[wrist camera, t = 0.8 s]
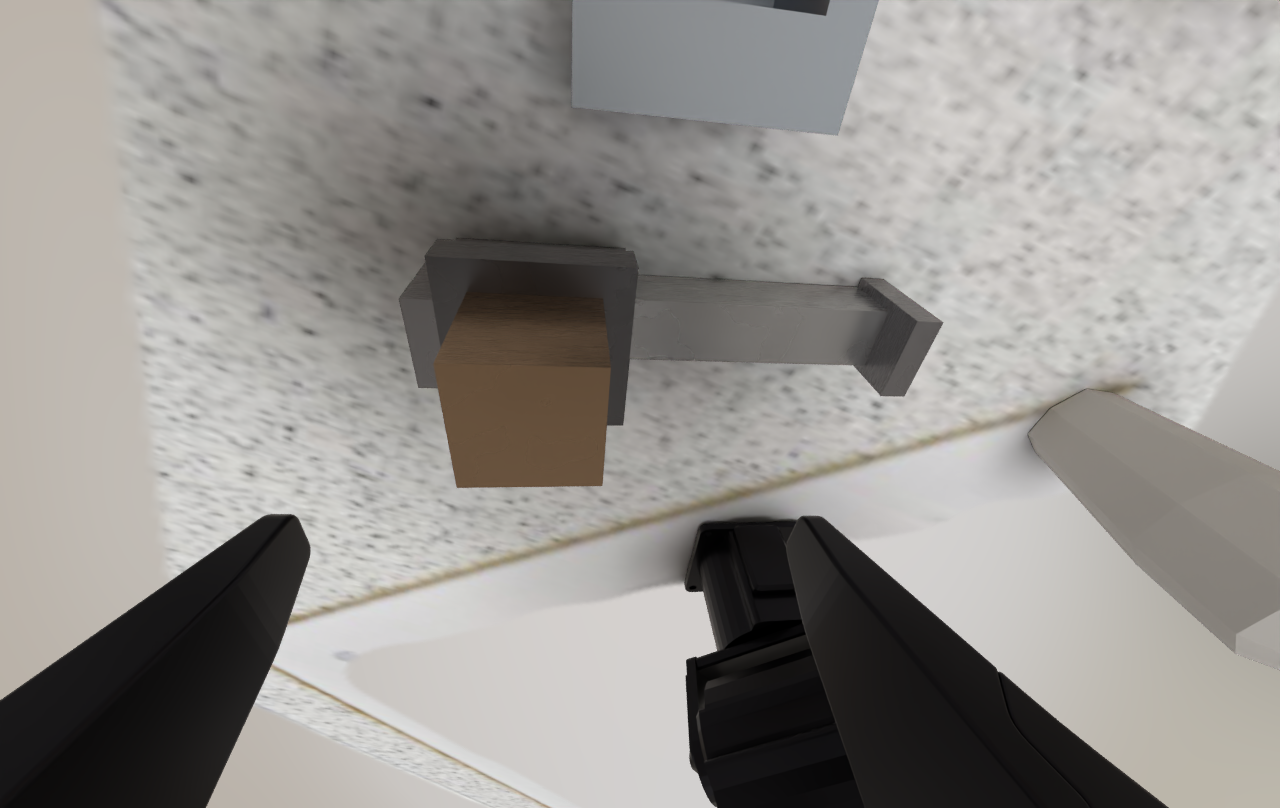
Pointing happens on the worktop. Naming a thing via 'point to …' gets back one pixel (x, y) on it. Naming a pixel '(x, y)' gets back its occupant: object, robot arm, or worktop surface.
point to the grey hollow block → (721, 59)
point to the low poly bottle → (1177, 511)
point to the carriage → (531, 357)
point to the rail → (745, 326)
